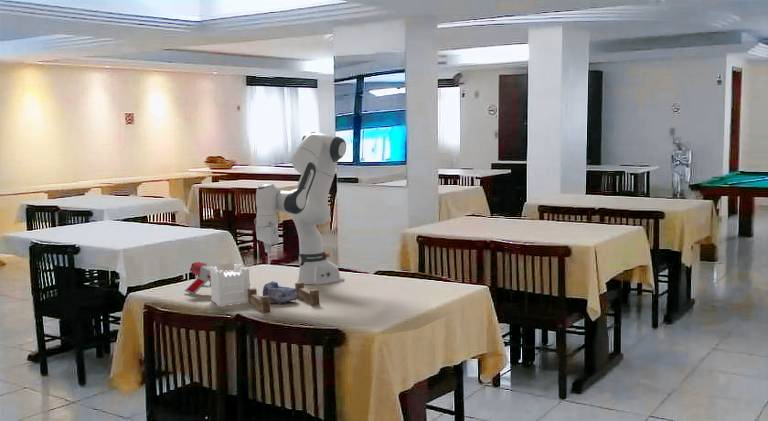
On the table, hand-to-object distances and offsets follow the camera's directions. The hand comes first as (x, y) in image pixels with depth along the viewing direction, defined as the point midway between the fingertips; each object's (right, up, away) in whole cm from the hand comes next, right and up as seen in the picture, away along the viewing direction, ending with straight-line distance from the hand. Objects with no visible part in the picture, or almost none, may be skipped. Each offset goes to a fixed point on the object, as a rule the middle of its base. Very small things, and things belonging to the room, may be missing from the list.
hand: (268, 252), depth 342 cm
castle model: (-16, -21, -3) cm, 27 cm away
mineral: (+6, -21, -9) cm, 24 cm away
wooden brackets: (+8, -21, -13) cm, 26 cm away
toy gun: (-25, -20, +12) cm, 34 cm away
